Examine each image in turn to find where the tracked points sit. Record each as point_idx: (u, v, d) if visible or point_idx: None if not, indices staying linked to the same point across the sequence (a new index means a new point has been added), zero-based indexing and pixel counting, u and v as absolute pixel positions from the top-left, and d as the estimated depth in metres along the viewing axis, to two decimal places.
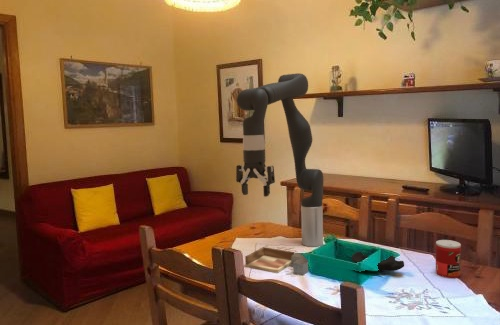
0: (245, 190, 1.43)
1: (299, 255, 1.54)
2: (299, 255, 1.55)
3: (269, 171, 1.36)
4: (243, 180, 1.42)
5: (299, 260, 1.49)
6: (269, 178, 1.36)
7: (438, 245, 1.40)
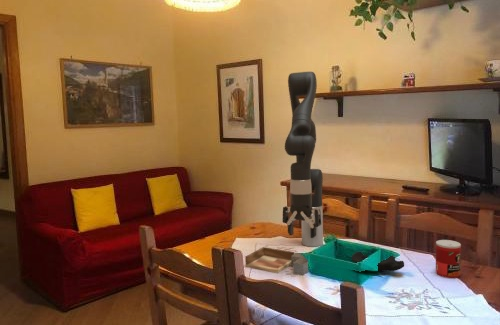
0: (291, 231, 1.49)
1: (299, 255, 1.54)
2: (299, 255, 1.55)
3: (316, 214, 1.42)
4: (289, 221, 1.48)
5: (299, 260, 1.49)
6: (316, 221, 1.43)
7: (438, 245, 1.40)
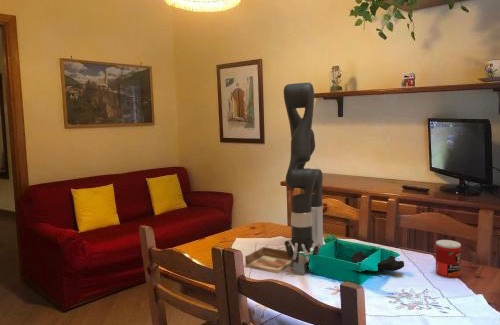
0: None
1: (299, 255, 1.54)
2: (299, 255, 1.55)
3: (316, 250, 1.44)
4: (295, 256, 1.49)
5: (299, 260, 1.49)
6: None
7: (438, 245, 1.40)
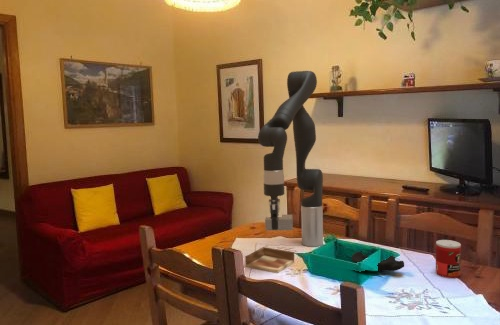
0: None
1: (287, 216, 1.55)
2: (288, 215, 1.55)
3: None
4: None
5: None
6: None
7: (438, 245, 1.40)
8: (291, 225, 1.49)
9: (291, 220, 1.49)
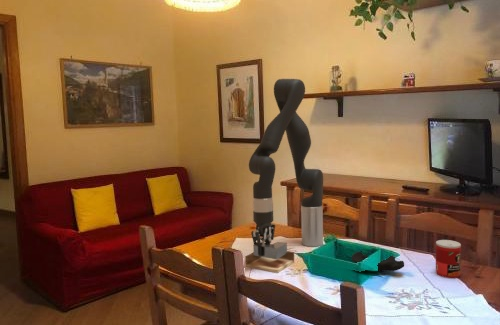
0: None
1: (278, 243, 1.55)
2: (280, 243, 1.55)
3: None
4: None
5: (264, 243, 1.56)
6: None
7: (438, 245, 1.40)
8: (275, 254, 1.50)
9: (275, 249, 1.50)
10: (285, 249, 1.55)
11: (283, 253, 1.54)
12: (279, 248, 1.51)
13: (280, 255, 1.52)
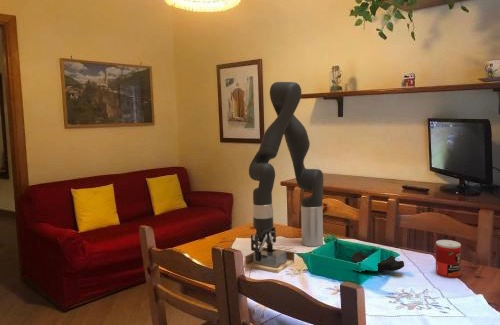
0: (268, 250, 1.59)
1: (278, 252, 1.56)
2: (279, 252, 1.56)
3: None
4: None
5: (264, 252, 1.56)
6: None
7: (438, 245, 1.40)
8: (275, 262, 1.50)
9: (275, 258, 1.50)
10: (285, 257, 1.56)
11: (283, 261, 1.54)
12: (279, 257, 1.52)
13: (280, 263, 1.53)
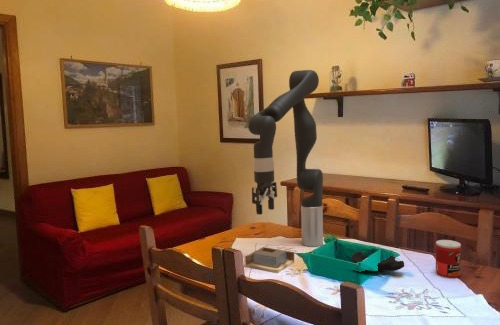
0: (269, 205, 1.59)
1: (278, 252, 1.56)
2: (279, 252, 1.56)
3: None
4: None
5: (264, 252, 1.56)
6: None
7: (438, 245, 1.40)
8: (275, 262, 1.50)
9: (275, 258, 1.50)
10: (285, 257, 1.56)
11: (283, 261, 1.54)
12: (279, 257, 1.52)
13: (280, 263, 1.53)
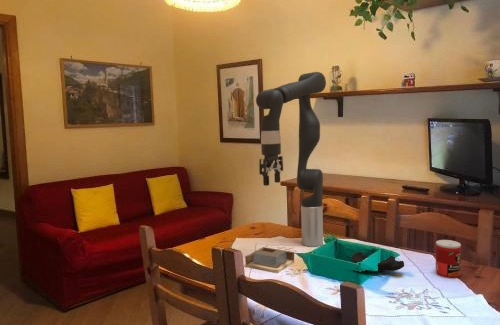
0: (276, 178, 1.64)
1: (278, 252, 1.56)
2: (279, 252, 1.56)
3: None
4: None
5: (264, 252, 1.56)
6: None
7: (438, 245, 1.40)
8: (275, 262, 1.50)
9: (275, 258, 1.50)
10: (285, 257, 1.56)
11: (283, 261, 1.54)
12: (279, 257, 1.52)
13: (280, 263, 1.53)
